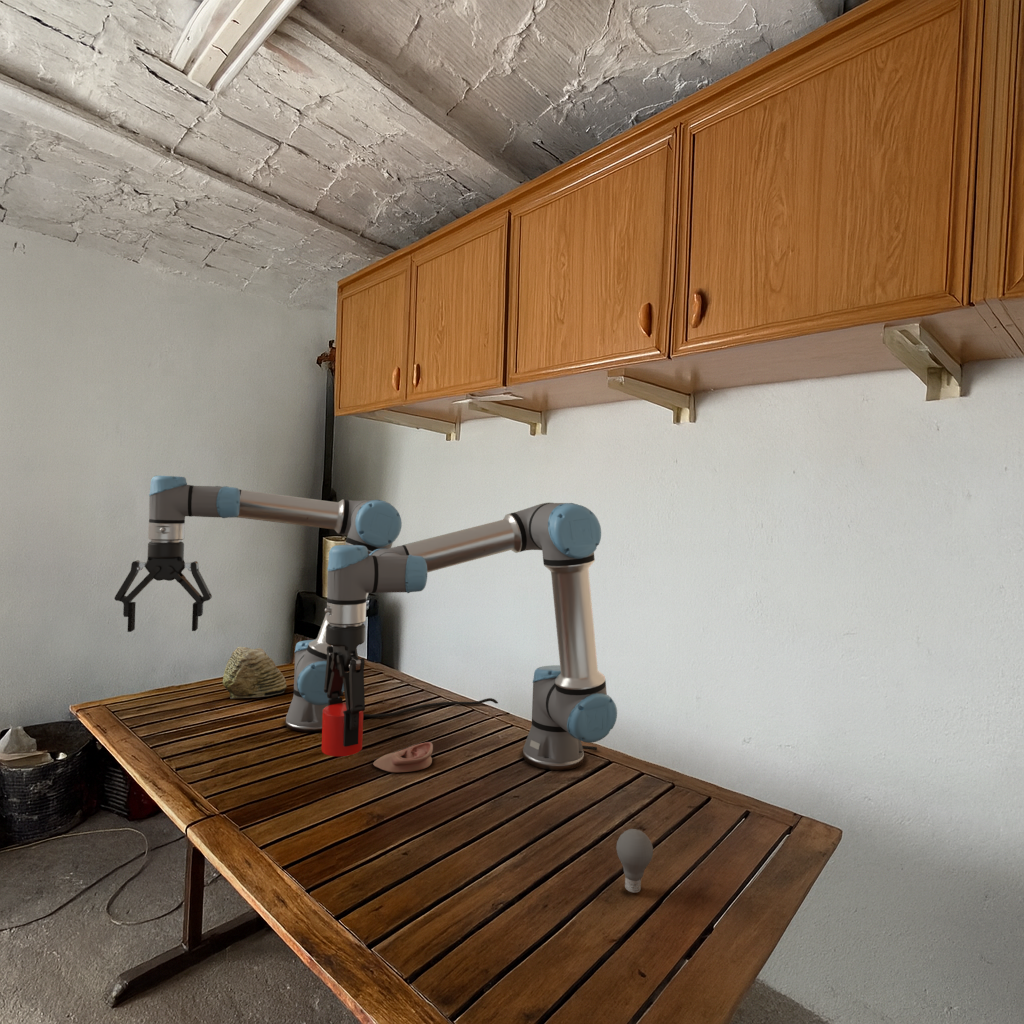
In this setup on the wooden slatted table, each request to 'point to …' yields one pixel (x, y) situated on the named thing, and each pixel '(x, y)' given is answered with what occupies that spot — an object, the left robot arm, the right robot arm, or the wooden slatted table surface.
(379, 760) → the anatomical model
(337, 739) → the canister
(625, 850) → the light bulb
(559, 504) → the right robot arm
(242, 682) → the fossil
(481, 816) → the wooden slatted table surface
